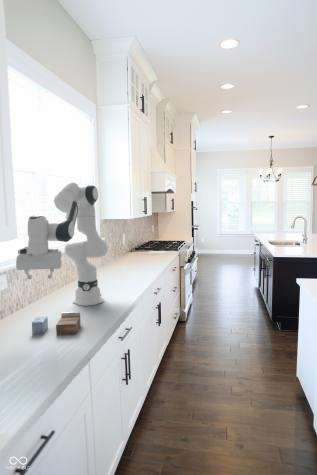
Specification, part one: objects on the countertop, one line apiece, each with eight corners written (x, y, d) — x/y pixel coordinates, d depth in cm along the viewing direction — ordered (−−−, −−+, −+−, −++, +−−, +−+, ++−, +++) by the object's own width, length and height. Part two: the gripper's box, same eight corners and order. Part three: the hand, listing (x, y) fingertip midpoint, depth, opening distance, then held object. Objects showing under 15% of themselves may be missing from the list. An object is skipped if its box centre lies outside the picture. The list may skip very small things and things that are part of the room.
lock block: (37, 328, 163) (36, 316, 162) (48, 328, 163) (47, 316, 163) (32, 335, 155) (31, 322, 154) (43, 334, 155) (42, 322, 155)
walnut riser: (62, 326, 166) (61, 312, 165) (80, 325, 166) (80, 311, 166) (56, 335, 154) (55, 320, 153) (76, 334, 154) (75, 319, 154)
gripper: (62, 248, 160) (63, 276, 161) (18, 249, 159) (20, 277, 160) (59, 249, 154) (60, 279, 155) (14, 250, 152) (15, 280, 153)
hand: (39, 278), depth 157 cm, fingers open, 8 cm apart
